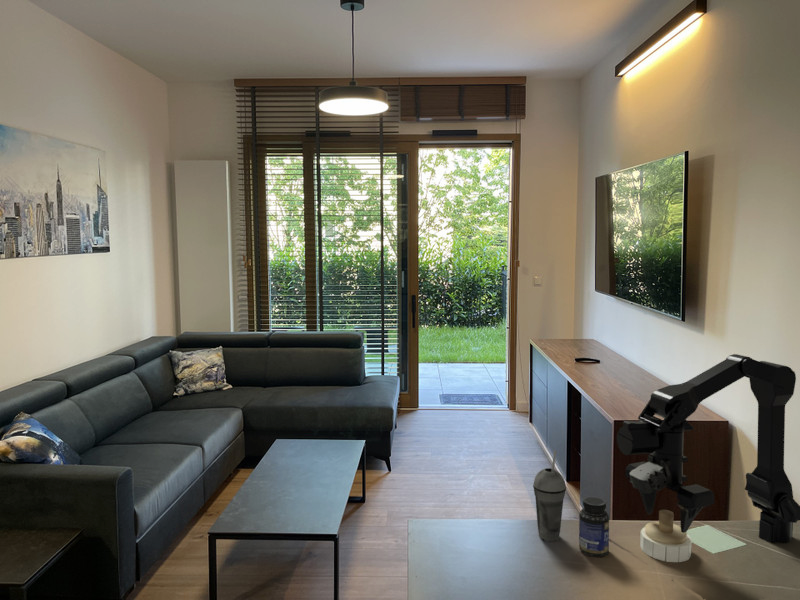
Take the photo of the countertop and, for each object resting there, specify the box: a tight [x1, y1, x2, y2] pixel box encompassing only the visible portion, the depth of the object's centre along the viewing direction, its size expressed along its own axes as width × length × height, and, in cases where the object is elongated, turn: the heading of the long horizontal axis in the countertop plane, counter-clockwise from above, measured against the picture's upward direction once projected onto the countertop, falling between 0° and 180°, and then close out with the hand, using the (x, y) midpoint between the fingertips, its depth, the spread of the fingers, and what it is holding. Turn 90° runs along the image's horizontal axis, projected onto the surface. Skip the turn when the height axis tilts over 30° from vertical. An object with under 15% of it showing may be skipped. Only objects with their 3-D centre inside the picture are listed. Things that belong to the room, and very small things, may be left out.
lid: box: [644, 509, 687, 545], centre depth 125 cm, size 8×8×5 cm
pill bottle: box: [578, 496, 610, 558], centre depth 127 cm, size 6×6×11 cm
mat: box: [687, 524, 748, 554], centre depth 131 cm, size 10×10×1 cm
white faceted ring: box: [639, 526, 693, 563], centre depth 126 cm, size 10×10×4 cm
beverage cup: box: [532, 449, 567, 542], centre depth 133 cm, size 7×7×20 cm
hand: (666, 522), depth 125 cm, fingers open, 9 cm apart
